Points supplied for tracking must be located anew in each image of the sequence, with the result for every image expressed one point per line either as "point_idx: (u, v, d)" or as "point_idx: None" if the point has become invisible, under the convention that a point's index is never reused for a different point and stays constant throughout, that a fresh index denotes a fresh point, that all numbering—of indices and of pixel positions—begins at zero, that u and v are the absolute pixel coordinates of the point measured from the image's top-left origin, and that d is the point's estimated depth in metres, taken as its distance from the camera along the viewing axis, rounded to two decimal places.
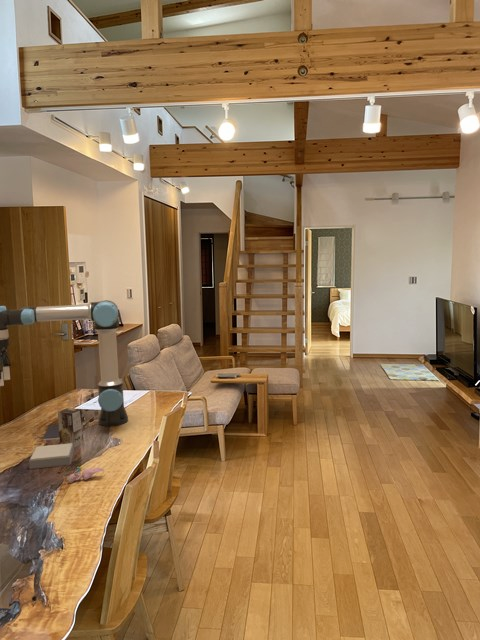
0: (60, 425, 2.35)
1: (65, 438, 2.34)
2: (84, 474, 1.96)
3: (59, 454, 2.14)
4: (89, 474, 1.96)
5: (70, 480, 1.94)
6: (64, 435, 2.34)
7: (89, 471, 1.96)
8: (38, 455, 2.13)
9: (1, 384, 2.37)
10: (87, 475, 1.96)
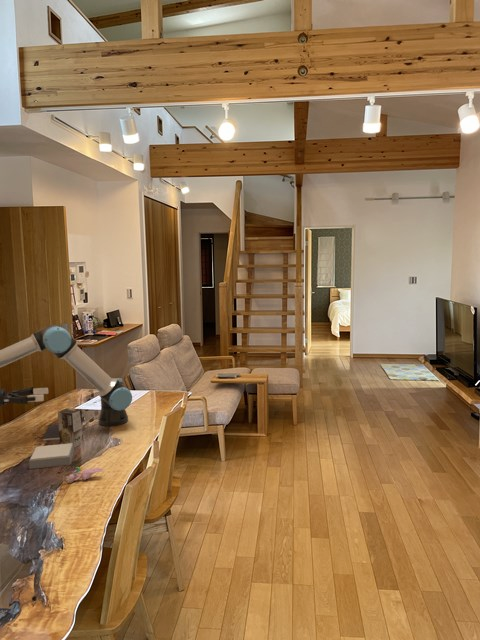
0: (60, 425, 2.35)
1: (65, 438, 2.34)
2: (83, 474, 1.95)
3: (59, 454, 2.14)
4: (88, 474, 1.96)
5: (69, 480, 1.94)
6: (64, 435, 2.34)
7: (88, 471, 1.96)
8: (38, 455, 2.13)
9: (41, 396, 2.25)
10: (86, 475, 1.95)
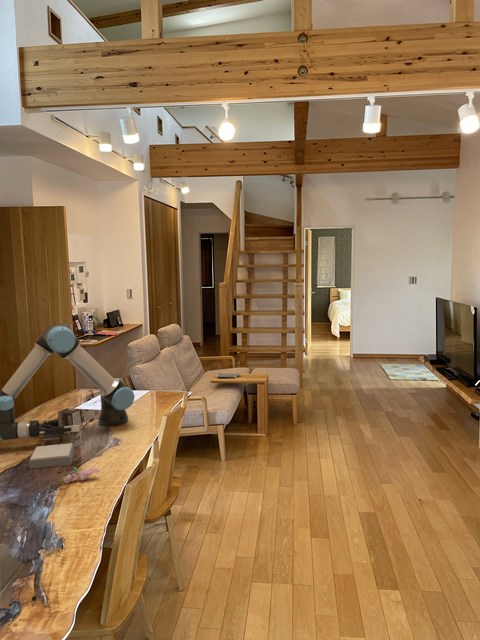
0: (60, 425, 2.35)
1: (65, 438, 2.34)
2: (80, 475, 1.95)
3: (59, 454, 2.14)
4: (85, 475, 1.95)
5: (66, 481, 1.93)
6: (64, 435, 2.34)
7: (85, 472, 1.96)
8: (38, 455, 2.13)
9: (77, 427, 2.32)
10: (83, 476, 1.95)
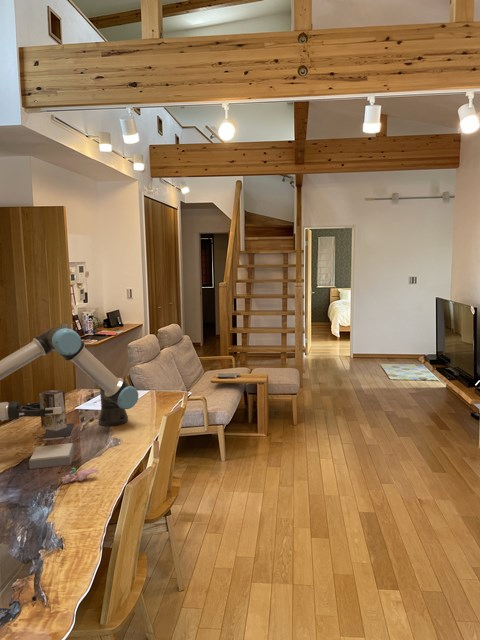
0: (42, 407, 2.21)
1: (47, 421, 2.21)
2: (79, 475, 1.95)
3: (59, 454, 2.14)
4: (84, 475, 1.95)
5: (65, 481, 1.93)
6: (46, 417, 2.21)
7: (84, 472, 1.95)
8: (38, 455, 2.13)
9: (59, 409, 2.18)
10: (82, 476, 1.95)
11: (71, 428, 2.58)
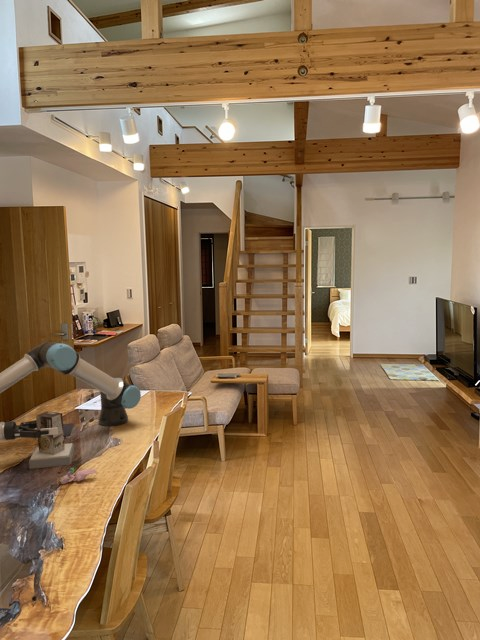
0: None
1: (45, 444, 2.15)
2: (77, 476, 1.94)
3: (59, 454, 2.14)
4: (82, 476, 1.94)
5: (63, 481, 1.93)
6: (43, 440, 2.15)
7: (82, 473, 1.95)
8: (38, 455, 2.13)
9: (55, 429, 2.11)
10: (80, 477, 1.94)
11: (71, 428, 2.58)
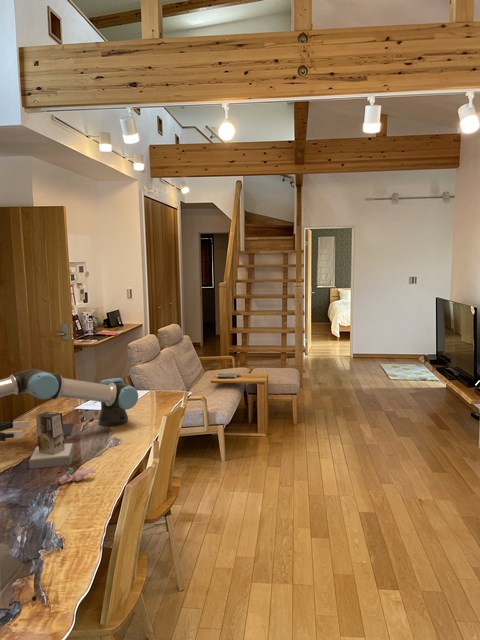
0: (39, 430, 2.16)
1: (45, 444, 2.15)
2: (76, 475, 1.94)
3: (59, 454, 2.14)
4: (81, 475, 1.95)
5: (62, 481, 1.93)
6: (43, 440, 2.15)
7: (81, 472, 1.95)
8: (38, 455, 2.13)
9: (20, 432, 2.08)
10: (79, 476, 1.94)
11: (71, 428, 2.58)
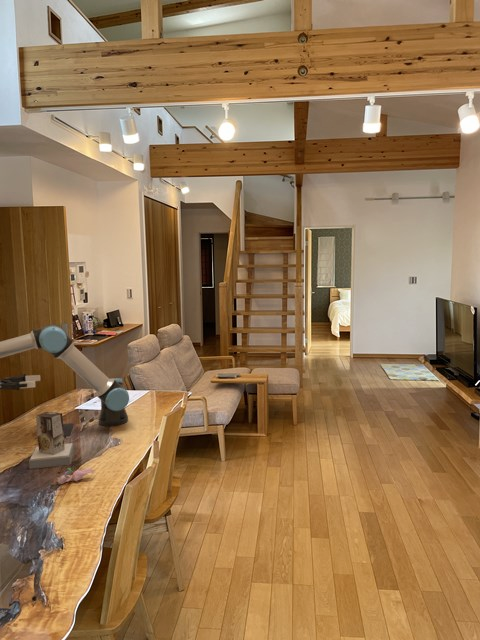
0: (39, 430, 2.16)
1: (45, 444, 2.15)
2: (74, 475, 1.95)
3: (59, 454, 2.14)
4: (79, 475, 1.95)
5: (60, 481, 1.93)
6: (43, 440, 2.15)
7: (79, 472, 1.95)
8: (38, 455, 2.13)
9: (33, 383, 2.29)
10: (77, 476, 1.94)
11: (71, 428, 2.58)
